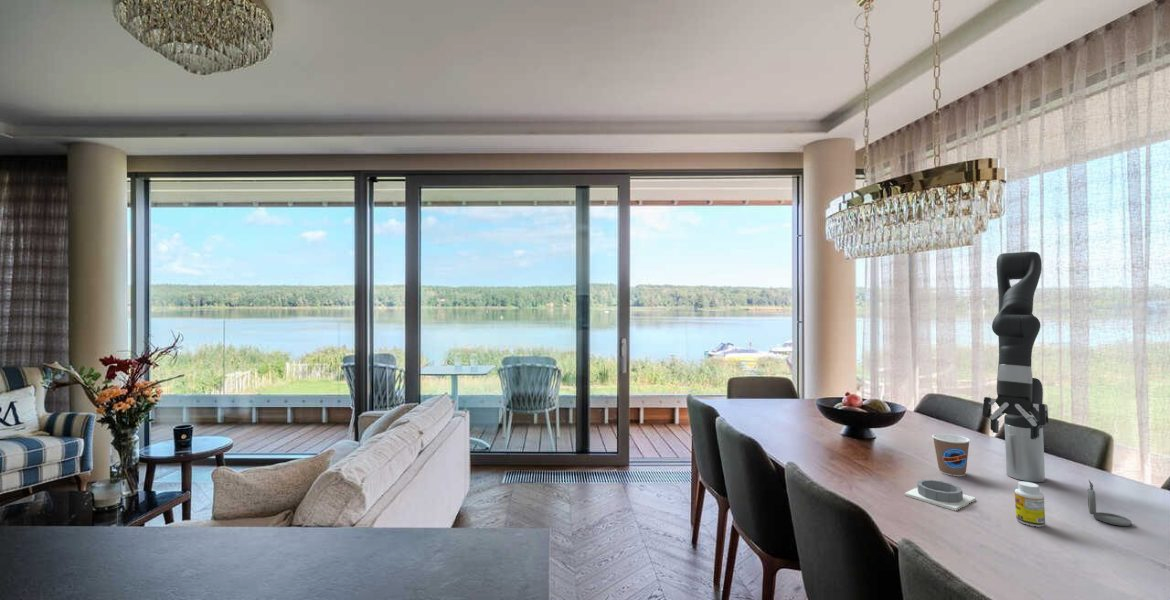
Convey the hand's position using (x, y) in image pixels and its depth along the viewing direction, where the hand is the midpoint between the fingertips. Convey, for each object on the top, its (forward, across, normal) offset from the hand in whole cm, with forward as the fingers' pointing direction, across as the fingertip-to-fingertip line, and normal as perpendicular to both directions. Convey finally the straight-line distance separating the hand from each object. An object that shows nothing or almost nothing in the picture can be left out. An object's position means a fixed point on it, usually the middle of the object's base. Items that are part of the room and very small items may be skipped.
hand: (1013, 435), depth 135 cm
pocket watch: (+18, -17, -6) cm, 26 cm away
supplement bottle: (+21, -7, +12) cm, 26 cm away
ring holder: (+21, +13, +14) cm, 28 cm away
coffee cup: (+17, +20, -13) cm, 29 cm away
